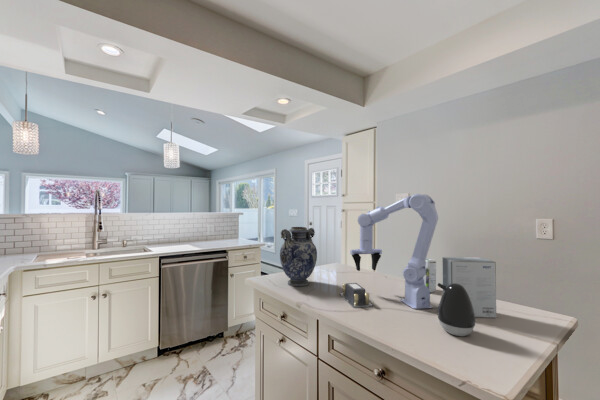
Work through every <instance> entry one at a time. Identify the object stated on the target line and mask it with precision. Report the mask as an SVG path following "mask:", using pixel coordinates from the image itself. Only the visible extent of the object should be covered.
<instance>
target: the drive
mask: <svg viewBox="0 0 600 400" xmlns="http://www.w3.org/2000/svg"><path fill="white" fill-rule="evenodd" d="M345 284H346V285H345V295H346V296H347V297H348V298H349V299H350V300H351V301H352V302H353V303H354V294H358V302H365V293H366V288H364V287H363V286H362V285H360V284H358V283H357V282H351V283H350V282H349V283H348V282H347V283H345Z"/></svg>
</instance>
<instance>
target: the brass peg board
mask: <svg viewBox="0 0 600 400" xmlns="http://www.w3.org/2000/svg"><path fill="white" fill-rule="evenodd" d="M345 285H346V283H342V292H339V296H341V297H342V298H343V299H344V300H345V301H346V302H347V303H348V304H349V305H350V306H351V307H352V308H353V309H359V308H370V307H371V308H372V307H374V305H373V304H372V303H371V302H370V293H368V292H365V302H358V294H354V303H353V302H352V301H351V300H350V299H349V298H348V297H347V296H346V295H345Z"/></svg>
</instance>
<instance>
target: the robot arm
mask: <svg viewBox="0 0 600 400" xmlns="http://www.w3.org/2000/svg"><path fill="white" fill-rule="evenodd" d="M435 203H436V202H435V200H433V198H432V197H431V196H430V195H428V194H421V193H414V194H413V195H410V196H406V197H404V198H402V199H400V200H398V201H396V202H394V203H392V204H390V205H388V206H386V207H385V206H382V205H381V206H380V205H378V206H376V207H375V209H373V210H368V211H367V212H366V213H361V214H360V215H358V218H357V223H358V225H359V248H356V249H350V255H351V257H352V259H353V261H354V263H355V264H354V265H355V267H356V268H355V269H356V270H357V271H358V272H360V271H361V261H362V260H361V259H362V256H361V255H370V257H371V269H372V270H373V271H376V269H377V265H378V263H379V261H380V259H381V257H382V254H383V251H382V249H381V248H374V245H373V243H374V242H373V240H374V239H373V238H374V235H373V234H374V232H373V231H374V230H373V227H374V225H375V224H376V223H379V222H382V221H384V220H387V219H388V218H389V215H390V214H393V213H396V212H398V211H401V210H403V209H412V210H413V211H415V212H416V213H418V215H419V217H420V218H421V219H422V221H421V224H420V228H419V231H418V236H417V237H416V242H415V245H414V249H413V252H412V255H411V257H410V260H409V261H408V263H407V265H406V267H404V269H403V271H402V276H403V278H404V298H401V299H400V302H402V303H404V304H405V305H407V306H408V307H410V308H412V309H414V310H420V309H431V308H433V306H432V305H431V292H430V290H429V288H428V287H426V286H425V283H424V279H423V277H424V276H425V275H426V269H425V266H426V258H427V256H428V253H429V250H430V247H431V243H432V240H433V237H434V233H435V230H436V227H437V225H438V220H439V215H438V212H437V208H436V204H435Z"/></svg>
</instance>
